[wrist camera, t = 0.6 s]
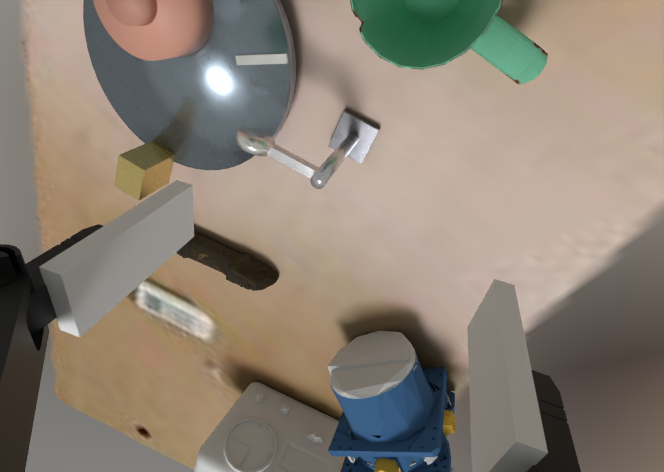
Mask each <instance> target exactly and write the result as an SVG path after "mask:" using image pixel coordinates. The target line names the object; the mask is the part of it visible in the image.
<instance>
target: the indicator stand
mask: <svg viewBox="0 0 664 472" xmlns="http://www.w3.org/2000/svg"><path fill="white" fill-rule="evenodd" d="M379 130H380V127H378V126H376V125H374V124H372V123H370V122H368V121H366V120H365V119H363V118H361V117H359V116H357V115H355V114H353V113H352V112H350V111H348V110H345V111H344V112H343V115H342V117H341V119H340V121H339V124H338V126H337V128H336V130H335V133H334V135H333V137H332V139H331V142H330V144H329V147H331V148H333V149H335V151H334V152H333V153H332V154H331V155H330V156H329V157H328V159H327V160H326V161H325V162H324V163H323V164H322V165H321V167H320V168H319V167H317V166H315V165H313V164H311V163H309V162H307V161H306V160H304V159H302V158H300V157H298V156H296V155H294V154H293V153H291V152H289V151H287V150H285V149H283V148H281V147H280V146H278V145H276V144H275V140H274V139H273V138H272V137H271V136H270V135H269V134H268V133H266V132H264V131H262V130H260V129H257V128H253V127H241V128H239V129H238V132H237V136H236V139H235V142H236V144H237V145H238V146H239V147H240V148H241V149H242V150H244V151H246V152H248V153H250V154H253V155H257V156H269V157H271V158H273V159H275V160H277V161H279V162H281V163H282V164H284V165H286V166H288V167H290V168H292V169H294V170H295V171H297V172H299V173H301V174H303V175H305V176H307V177H308V178H310V179H311V180H310V181H311V184H312V186H313V187H315V188H317V189H321V188H323V187H324V186H325V184H326V183H327V182H328V180H329V179H330V178H331V176H332V175H333V174H334V172H335V171H336V170H337V168H338V167H339V166H340V164H341V163H342V162H343V161H344V159H345V158H346V157H347V156H348V157H350V158H352V159H354V160H355V161H357V162H359V163H361V164H362V162H363V161H364V159H365V157H366V155H367V153H368V151H369V149H370V147H371V145H372V143H373V141H374V139H375V137H376V136H377V134H378V132H379Z"/></svg>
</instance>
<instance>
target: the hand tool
mask: <svg viewBox="0 0 664 472" xmlns="http://www.w3.org/2000/svg"><path fill="white" fill-rule="evenodd" d="M176 253H178V254H179V255H180V256H182V257H183V258H190V259H193V260H195V261H198V262H200V263H202V264H204V265H206V266H209V267H211V268H213V269H215V270H218V271H220V272H222V273H223V274H225V275H226V279H227V280H229V281H231V282H232V283H236V284H238V285H240V286H241V287H244V288H246V289H251V290H253V291H254V290H256V291H257V290H263V289H265V288H267V287H269V286H271V285H273V284H274V283H275V282H276V281H277V279H278V278H279V275H278V274H277V273H276V271H274V270H273V269H272V268H270V267H269V266H268V265H266V264H265V263H263V262H262V261H259V260H258V259H256V258H255V257H253V256H251V255H250V254H248V253H244V254H240V253H237V252H235V251H233V250H230V249H229V248H227V247H225V246H223V245H221V244H219V243H217V242H215V241H212V240H209V239H207V238H205V237H203V236H201V235H198V234H197V233H195V232H194V237H193V238H192V239H191V240H189V241H188V242H187V243H186V244H185V245H184V246H183V247H182V248H180V249H179V250H178V251H177V252H176Z"/></svg>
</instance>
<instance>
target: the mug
mask: <svg viewBox="0 0 664 472" xmlns="http://www.w3.org/2000/svg"><path fill="white" fill-rule="evenodd" d="M502 1H503V0H350V3H351V8H352V11H353V13H354V15H355V16H356V17H358V18H359V20H360V21H361V22H362V24H361V27H360V28H359V29H360V34H361V36H362V38H363V40H364V42H365V43H366V44H367V45H368V46H369V47H370V48H371V49H372V50H373V51H374V52H375V53H376V54H377V55H378V56H379V57H380V58H382V59H384V60H386V61H388V62H390V63H392V64H394V65H396V66H398V67H402V68H411V69H420V70H422V69H427V68H431V67H436V66H440V65H445V64H446V63H448V62H450V61H452V60H453V59H455V58H457V57H459V56H460V55H462V54H464V53H466V52H467V51H468V50H469V49H470V48H471V49H472V50H473V51H475V52H476V53H477V54H479V55H480V56H481V57H483V58H484V59H485V60H487V61H488V62H489V63H491V64H492V65H493V66H495V67H496V68H497V69H499V70H500V71H501V72H503V73H504V74H505V75H507V76H508V77H510V78H511V79H512V80H513V81H515V82H516V83H517V84H523V83H526V82H529V81H531V80H533V79H535V78H536V77H537V76H538V75H539V74H540V73H541V71H542V70H543V68H544V67H545V65H546V63H547V55H548V54H547V53H546V52H545V51H544V50H543V49H542V48H541V47H540V46H538V45H537V44H536V43H534V42H533V41H532V40H530V39H529V38H528V37H526V36H525V35H524V34H522V33H521V32H520V31H518V30H517V29H516V28H514V27H513V26H511V25H510V24H509V23H507V22H506V21H505V20H503V19H502V18H501V17H499V16H498V15H497V12H498V10H499V9H500V7H501V4H502Z"/></svg>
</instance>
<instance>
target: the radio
mask: <svg viewBox="0 0 664 472" xmlns="http://www.w3.org/2000/svg"><path fill="white" fill-rule="evenodd" d="M338 423H339V421H338V420H336V419H334V418H332V417H330V416H328V415H326V414H324V413H322V412H320V411H318V410H316V409H314V408H311V407H309V406H307V405H305V404H303V403H301V402H299V401H297V400H295V399H293V398H291V397H289V396H287V395H284V394H282V393H280V392H278V391H276V390H274V389H272V388H270V387H268V386H266V385H264V384H262V383H259V382H252V383H251V384H250V385H249V386H248V387H247V388H246V390H245V391H244V392H243V394H242V395H241V396H240V397H239V399H238V400H237V401H236V403H235V404H234V405H233V407H232V408H231V409H230V410H229V412H228V413H227V414H226V416H225V417H224V418H223V419H222V421H221V422H220V423H219V425H218V426H217V427H216V428H215V430H214V431H213V432H212V434H211V435H210V436H209V437H208V439H207V440H206V441H205V443H204V444H203V445H202V446H201V448H200V450H199V453H198V456H197V460H196V464H195V468H194V472H340V465H341V457H332V456H331V455H330V453H329V452H328V449H329V446H330V444H331V441H332V439H333V436H334V433H335V431H336V428H337V426H338Z"/></svg>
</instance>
